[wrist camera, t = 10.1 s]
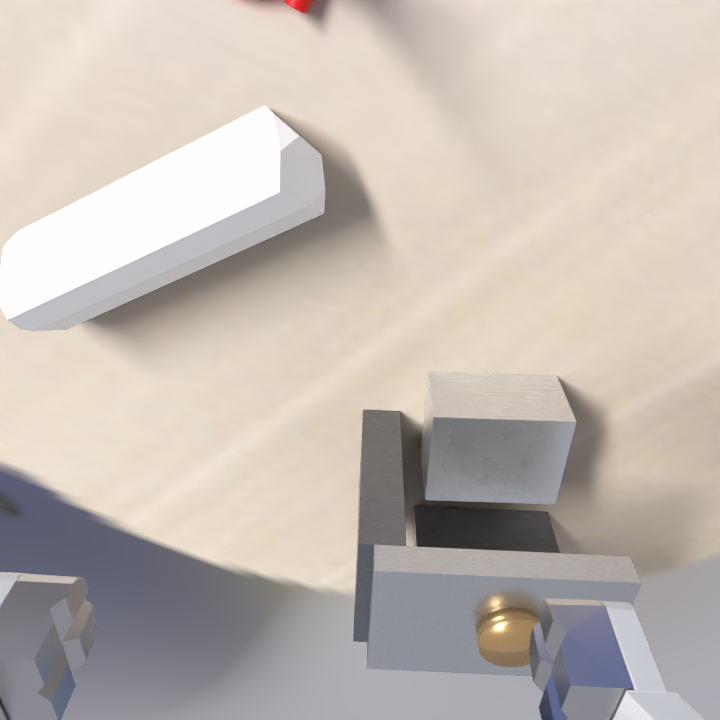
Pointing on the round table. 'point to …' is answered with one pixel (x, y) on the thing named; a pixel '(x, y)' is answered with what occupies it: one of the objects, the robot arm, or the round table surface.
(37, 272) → the crystal
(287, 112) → the round table surface
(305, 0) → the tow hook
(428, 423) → the brushed aluminum block
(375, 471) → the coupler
